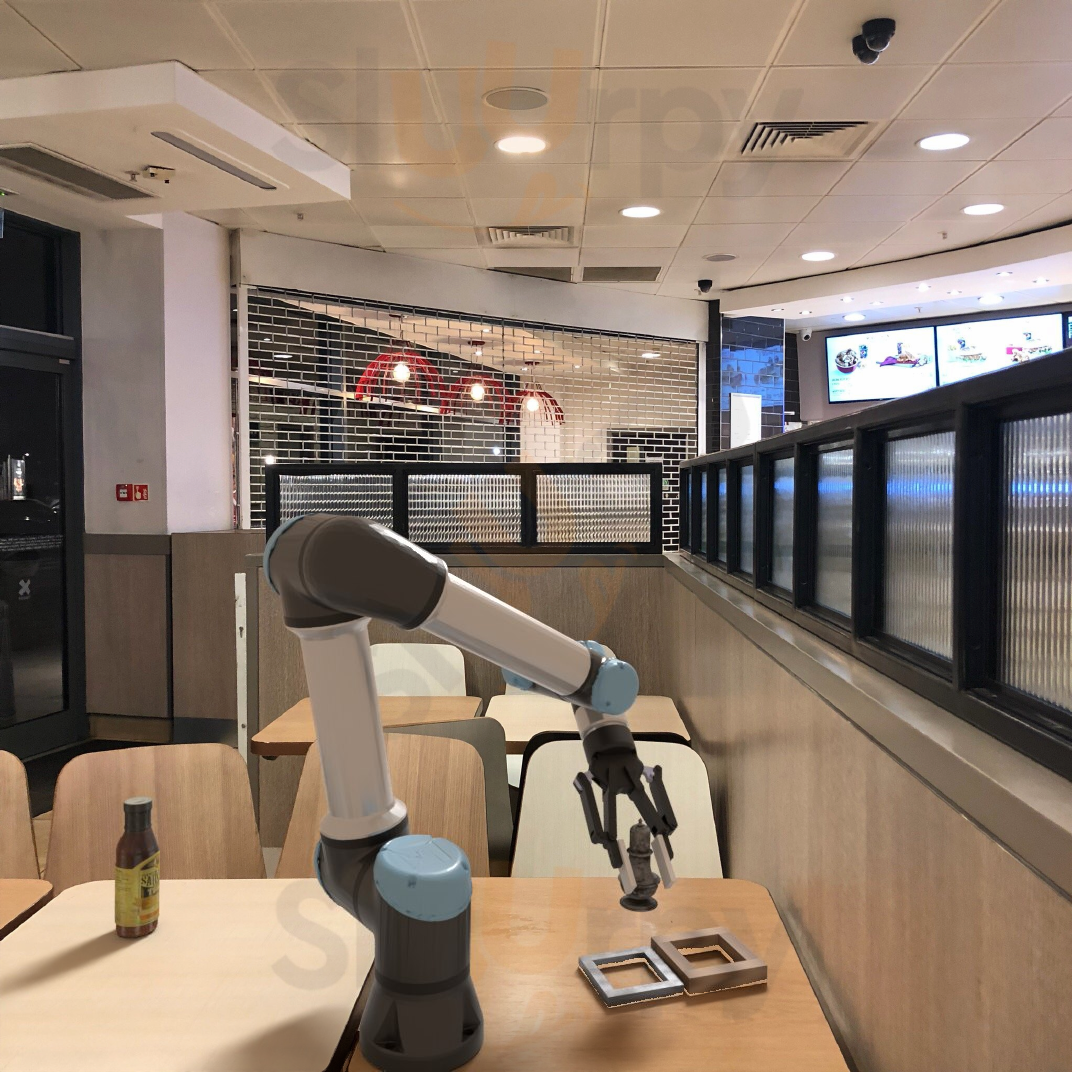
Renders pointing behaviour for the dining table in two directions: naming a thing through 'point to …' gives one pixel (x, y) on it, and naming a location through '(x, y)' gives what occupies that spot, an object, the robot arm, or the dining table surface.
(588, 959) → the metal collar
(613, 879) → the dining table surface
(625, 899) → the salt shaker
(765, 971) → the walnut holder block
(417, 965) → the robot arm
